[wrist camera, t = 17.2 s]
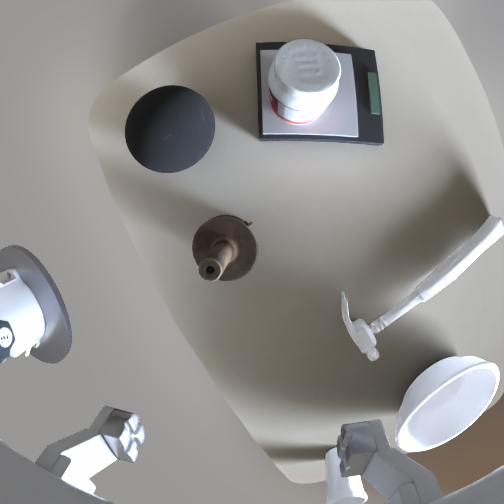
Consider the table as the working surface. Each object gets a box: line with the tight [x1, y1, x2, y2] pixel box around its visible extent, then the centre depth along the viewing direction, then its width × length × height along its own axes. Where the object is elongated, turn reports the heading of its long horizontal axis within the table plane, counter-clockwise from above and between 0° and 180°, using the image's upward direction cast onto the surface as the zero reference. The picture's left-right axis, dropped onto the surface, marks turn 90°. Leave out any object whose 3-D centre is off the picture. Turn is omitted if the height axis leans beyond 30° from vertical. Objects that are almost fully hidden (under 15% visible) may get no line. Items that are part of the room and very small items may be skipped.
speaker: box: [125, 85, 215, 173], centre depth 27 cm, size 10×10×10 cm
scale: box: [256, 42, 384, 145], centre depth 28 cm, size 15×13×3 cm
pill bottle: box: [268, 39, 341, 125], centre depth 22 cm, size 6×6×11 cm
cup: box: [325, 447, 367, 504], centre depth 39 cm, size 8×8×14 cm
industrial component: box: [192, 215, 258, 281], centre depth 30 cm, size 9×7×12 cm
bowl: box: [395, 356, 499, 452], centre depth 36 cm, size 22×22×8 cm
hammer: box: [342, 215, 504, 361], centre depth 33 cm, size 12×30×3 cm, turn 128°
